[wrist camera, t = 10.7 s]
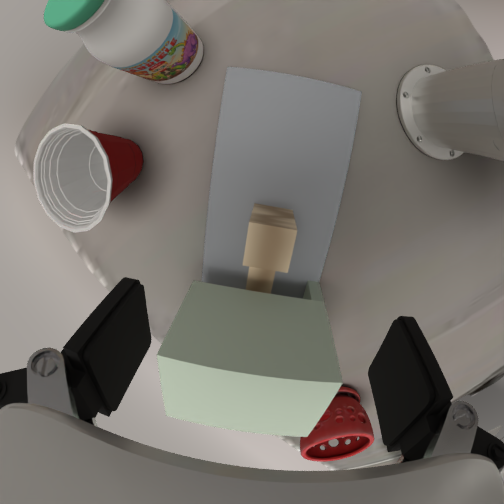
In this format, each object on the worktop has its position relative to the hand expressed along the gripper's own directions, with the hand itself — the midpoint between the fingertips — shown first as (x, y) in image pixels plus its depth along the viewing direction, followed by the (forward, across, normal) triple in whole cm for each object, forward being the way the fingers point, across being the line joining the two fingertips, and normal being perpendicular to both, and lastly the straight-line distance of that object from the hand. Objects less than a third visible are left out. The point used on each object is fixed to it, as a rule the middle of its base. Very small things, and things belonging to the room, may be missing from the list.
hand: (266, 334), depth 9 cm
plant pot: (+24, -17, +38) cm, 48 cm away
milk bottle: (+24, +14, -16) cm, 32 cm away
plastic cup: (+24, +20, -2) cm, 31 cm away
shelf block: (+24, +1, +15) cm, 28 cm away
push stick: (+23, +1, +12) cm, 26 cm away
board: (+24, 0, +4) cm, 24 cm away
